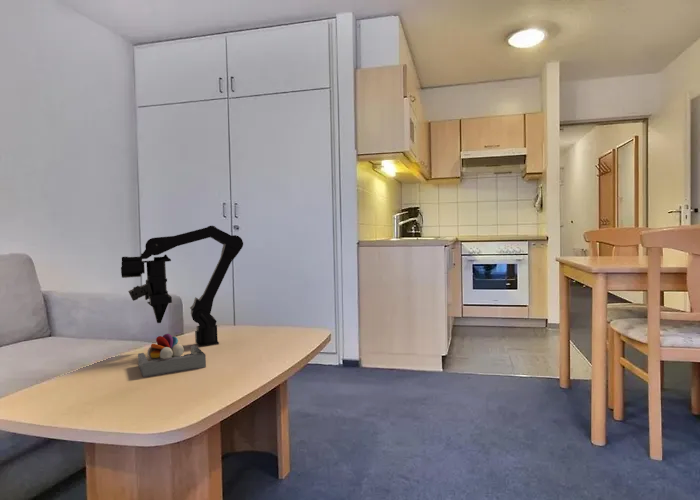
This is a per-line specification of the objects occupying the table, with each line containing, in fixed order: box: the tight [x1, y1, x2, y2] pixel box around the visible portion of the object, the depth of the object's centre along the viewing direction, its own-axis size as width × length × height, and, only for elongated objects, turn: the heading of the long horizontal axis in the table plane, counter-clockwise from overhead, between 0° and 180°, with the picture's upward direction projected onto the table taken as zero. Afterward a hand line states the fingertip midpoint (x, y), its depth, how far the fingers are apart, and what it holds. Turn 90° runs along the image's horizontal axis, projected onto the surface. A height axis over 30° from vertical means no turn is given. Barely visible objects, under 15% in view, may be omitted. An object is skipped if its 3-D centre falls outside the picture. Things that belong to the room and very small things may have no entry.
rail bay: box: [137, 345, 207, 378], centre depth 129 cm, size 16×14×4 cm
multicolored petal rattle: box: [146, 333, 185, 360], centre depth 139 cm, size 8×10×7 cm
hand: (158, 323), depth 151 cm, fingers closed
